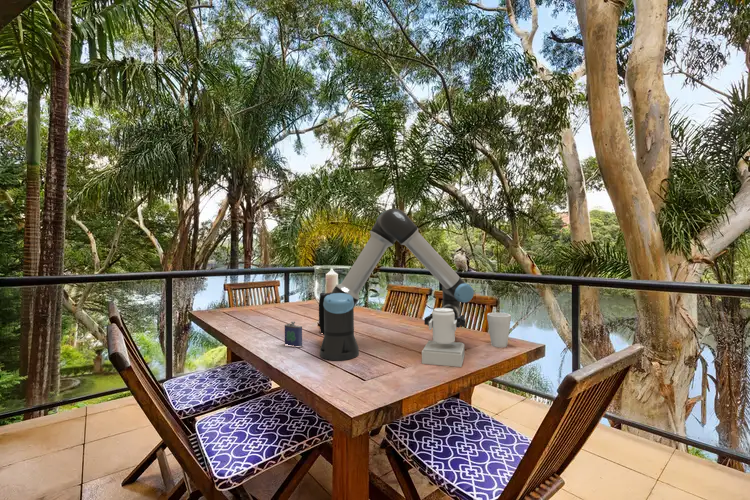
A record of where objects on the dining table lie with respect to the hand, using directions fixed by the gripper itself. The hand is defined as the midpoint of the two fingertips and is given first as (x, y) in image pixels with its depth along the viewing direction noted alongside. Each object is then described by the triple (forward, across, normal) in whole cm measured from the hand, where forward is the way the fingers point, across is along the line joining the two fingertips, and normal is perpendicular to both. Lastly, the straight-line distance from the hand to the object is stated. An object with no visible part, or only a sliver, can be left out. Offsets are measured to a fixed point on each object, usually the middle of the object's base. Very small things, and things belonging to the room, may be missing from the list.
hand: (441, 326), depth 133 cm
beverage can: (-5, 0, -7) cm, 8 cm away
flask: (-6, +64, -13) cm, 66 cm away
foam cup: (-30, -20, -14) cm, 38 cm away
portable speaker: (-31, +59, -13) cm, 68 cm away
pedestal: (-5, 0, -13) cm, 14 cm away
